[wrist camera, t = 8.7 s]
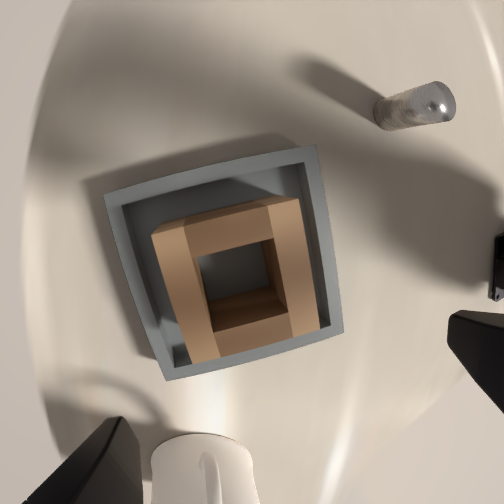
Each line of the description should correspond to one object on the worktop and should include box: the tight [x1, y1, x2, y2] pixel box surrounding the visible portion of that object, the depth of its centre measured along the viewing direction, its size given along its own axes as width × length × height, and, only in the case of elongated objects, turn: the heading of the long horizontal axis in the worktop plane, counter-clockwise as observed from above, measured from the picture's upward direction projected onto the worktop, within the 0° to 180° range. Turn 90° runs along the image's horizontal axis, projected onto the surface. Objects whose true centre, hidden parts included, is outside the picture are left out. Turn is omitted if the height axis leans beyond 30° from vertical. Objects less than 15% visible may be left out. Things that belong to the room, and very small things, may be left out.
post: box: [374, 81, 456, 131], centre depth 15 cm, size 2×2×6 cm
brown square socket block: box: [151, 195, 320, 364], centre depth 16 cm, size 6×6×4 cm
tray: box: [103, 145, 344, 381], centre depth 17 cm, size 11×11×2 cm
